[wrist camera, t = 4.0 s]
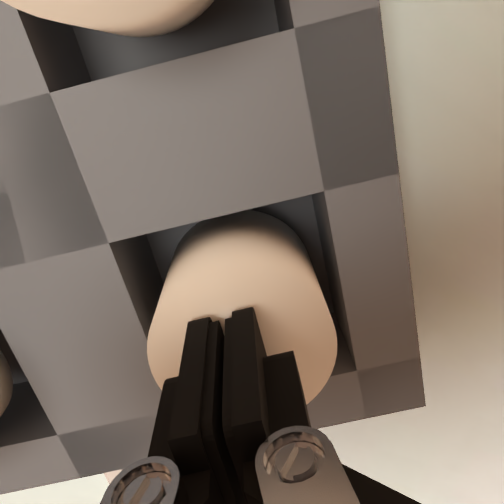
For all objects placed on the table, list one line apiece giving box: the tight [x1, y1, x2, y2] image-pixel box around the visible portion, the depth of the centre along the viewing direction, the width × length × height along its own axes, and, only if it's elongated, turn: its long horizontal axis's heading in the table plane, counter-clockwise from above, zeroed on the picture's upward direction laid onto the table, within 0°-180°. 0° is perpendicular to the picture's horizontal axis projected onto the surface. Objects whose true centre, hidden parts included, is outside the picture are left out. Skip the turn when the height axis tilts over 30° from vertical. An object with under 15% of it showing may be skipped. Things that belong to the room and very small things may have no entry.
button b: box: [147, 210, 337, 405], centre depth 14 cm, size 5×5×4 cm
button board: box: [0, 0, 426, 494], centre depth 14 cm, size 20×20×4 cm
